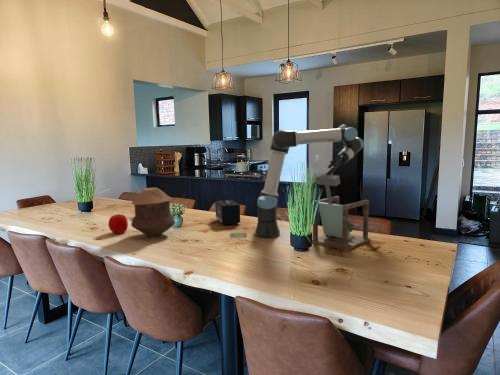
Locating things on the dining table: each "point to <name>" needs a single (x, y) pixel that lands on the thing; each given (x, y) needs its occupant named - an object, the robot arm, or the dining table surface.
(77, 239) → the dining table surface
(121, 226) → the tomato
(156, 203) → the pottery vessel
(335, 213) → the trapdoor
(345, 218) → the stand
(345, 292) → the dining table surface
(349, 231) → the chalk box
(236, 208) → the speaker
